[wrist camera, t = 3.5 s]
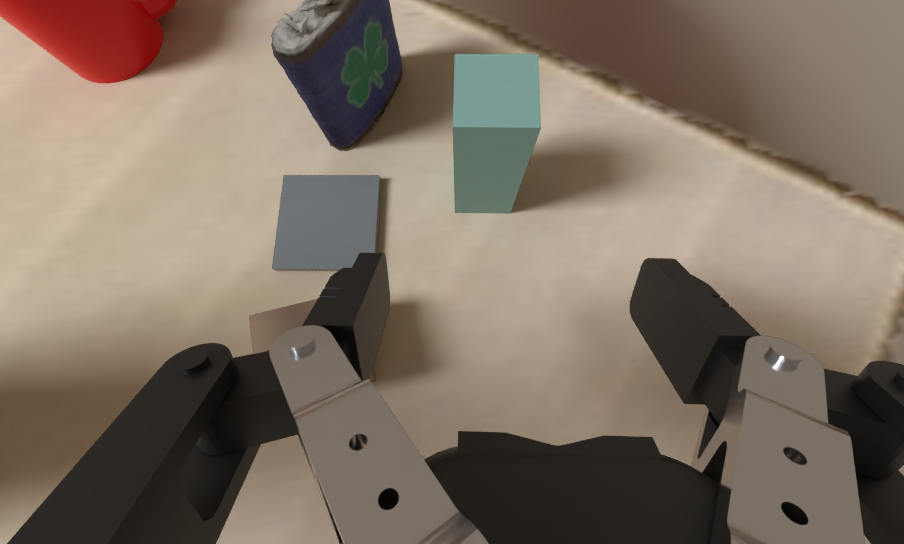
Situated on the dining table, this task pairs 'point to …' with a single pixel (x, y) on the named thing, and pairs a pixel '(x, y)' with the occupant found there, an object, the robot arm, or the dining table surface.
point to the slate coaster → (326, 221)
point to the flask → (341, 63)
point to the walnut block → (279, 325)
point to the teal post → (493, 128)
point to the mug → (93, 33)
